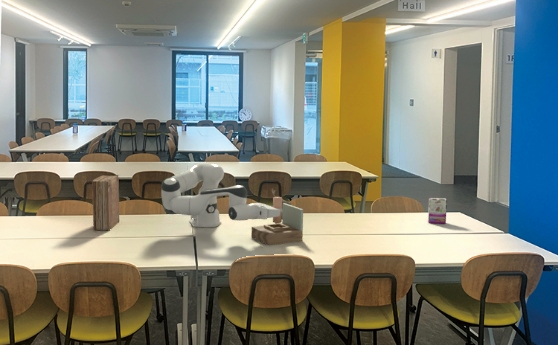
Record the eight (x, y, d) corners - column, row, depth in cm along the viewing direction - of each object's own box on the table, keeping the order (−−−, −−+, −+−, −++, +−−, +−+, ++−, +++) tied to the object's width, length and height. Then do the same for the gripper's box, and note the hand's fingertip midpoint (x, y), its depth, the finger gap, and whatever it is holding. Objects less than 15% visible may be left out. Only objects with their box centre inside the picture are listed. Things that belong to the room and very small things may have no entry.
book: (109, 231, 323) (108, 180, 319) (93, 231, 322) (91, 180, 318) (119, 221, 348) (118, 174, 344) (104, 221, 347) (103, 174, 343)
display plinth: (251, 237, 316) (251, 206, 314) (284, 232, 327) (284, 203, 325) (268, 245, 299) (269, 212, 297) (302, 240, 310) (303, 209, 308)
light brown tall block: (271, 221, 313) (271, 197, 311) (278, 220, 315) (279, 196, 313) (275, 223, 308) (276, 198, 306) (283, 222, 311) (283, 198, 309)
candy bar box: (444, 222, 364) (446, 198, 362) (445, 224, 359) (447, 199, 357) (427, 221, 366) (428, 197, 364) (428, 223, 361) (429, 198, 359)
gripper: (248, 212, 313) (269, 210, 320) (266, 220, 296) (287, 217, 303) (248, 202, 313) (269, 200, 320) (266, 208, 295) (288, 206, 302)
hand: (278, 208), depth 311 cm, fingers closed on light brown tall block, 5 cm apart
